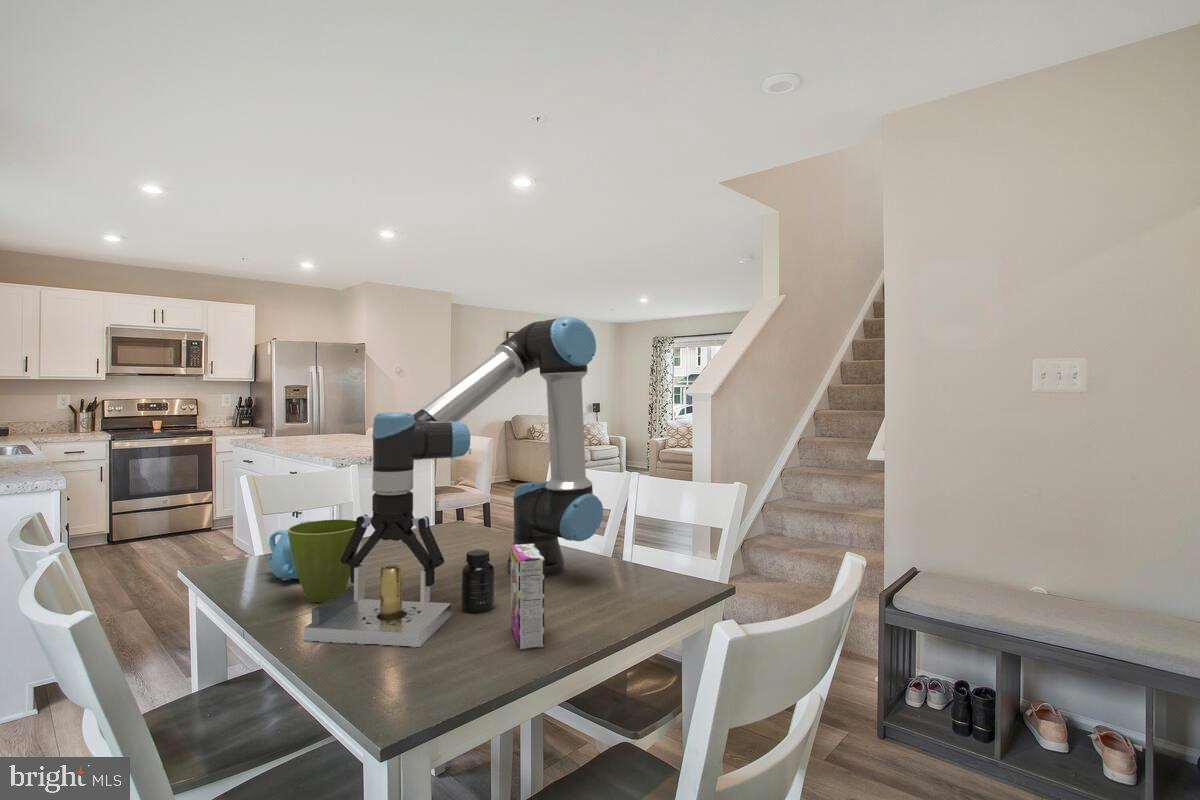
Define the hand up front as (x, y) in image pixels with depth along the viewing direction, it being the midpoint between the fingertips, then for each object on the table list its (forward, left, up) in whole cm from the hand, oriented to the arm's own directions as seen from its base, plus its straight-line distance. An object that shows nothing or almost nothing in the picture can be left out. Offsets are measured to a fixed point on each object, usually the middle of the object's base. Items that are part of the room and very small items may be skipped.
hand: (392, 601), depth 115 cm
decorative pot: (+37, -30, -6) cm, 48 cm away
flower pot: (+23, -15, -5) cm, 28 cm away
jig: (+2, 0, -5) cm, 6 cm away
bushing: (0, 0, -5) cm, 5 cm away
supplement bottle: (-13, -13, -5) cm, 19 cm away
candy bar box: (-27, +1, -6) cm, 28 cm away
